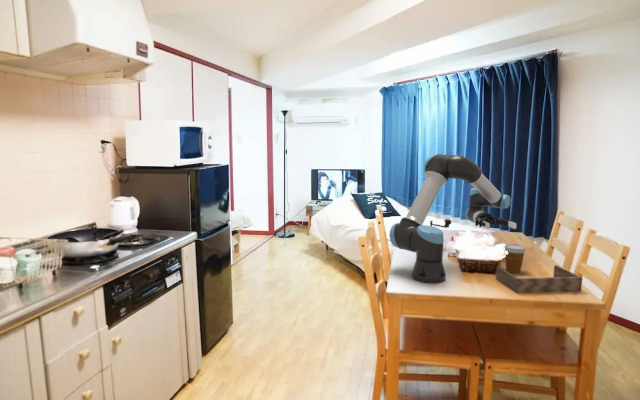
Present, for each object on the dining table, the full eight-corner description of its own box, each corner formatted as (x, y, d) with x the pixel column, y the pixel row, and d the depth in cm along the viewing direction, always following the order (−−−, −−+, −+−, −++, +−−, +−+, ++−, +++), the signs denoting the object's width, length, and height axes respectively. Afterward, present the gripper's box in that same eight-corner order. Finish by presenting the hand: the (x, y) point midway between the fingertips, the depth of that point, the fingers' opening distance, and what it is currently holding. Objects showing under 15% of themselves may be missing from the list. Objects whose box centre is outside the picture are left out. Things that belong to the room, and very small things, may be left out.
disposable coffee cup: (497, 269, 201) (499, 245, 199) (512, 266, 204) (513, 243, 203) (514, 275, 192) (515, 250, 190) (528, 272, 196) (530, 247, 194)
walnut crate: (515, 293, 169) (516, 279, 168) (496, 279, 186) (496, 266, 185) (580, 291, 171) (582, 277, 170) (555, 277, 188) (556, 265, 187)
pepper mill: (425, 251, 233) (426, 220, 230) (418, 246, 244) (419, 216, 241) (451, 250, 234) (452, 219, 232) (443, 245, 245) (444, 216, 243)
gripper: (504, 225, 225) (526, 233, 204) (460, 225, 223) (477, 233, 202) (505, 211, 224) (527, 218, 203) (461, 211, 222) (478, 218, 201)
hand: (502, 226), depth 203 cm, fingers open, 13 cm apart
